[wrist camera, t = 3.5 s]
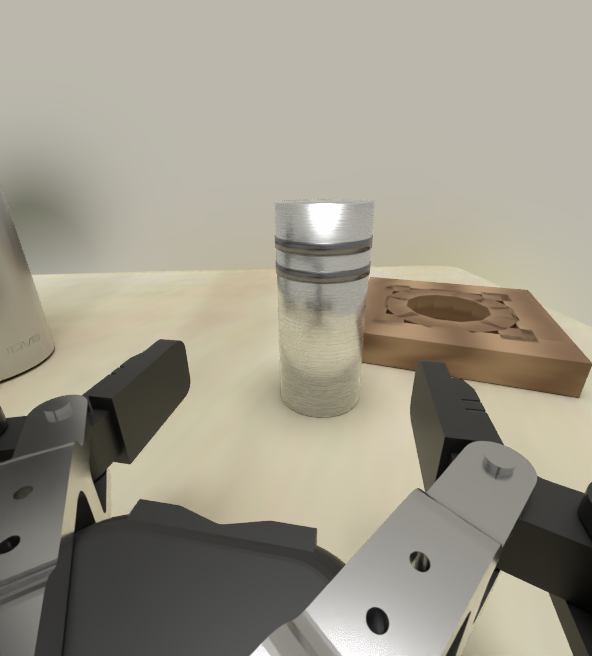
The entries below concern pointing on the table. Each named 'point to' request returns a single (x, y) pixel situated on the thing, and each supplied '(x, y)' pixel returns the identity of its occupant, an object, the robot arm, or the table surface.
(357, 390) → the salt shaker
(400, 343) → the ring block
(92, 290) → the table surface
